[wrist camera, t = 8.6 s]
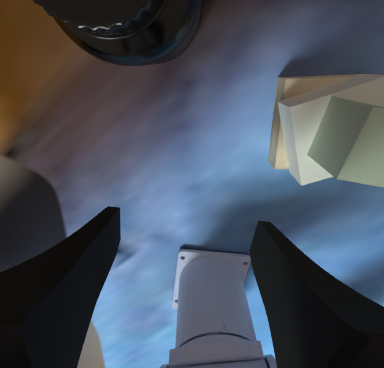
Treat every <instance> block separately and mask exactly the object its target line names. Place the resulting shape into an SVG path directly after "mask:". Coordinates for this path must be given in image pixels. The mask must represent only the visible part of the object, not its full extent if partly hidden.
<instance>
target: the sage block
mask: <svg viewBox="0 0 384 368" xmlns="http://www.w3.org/2000/svg"><path fill="white" fill-rule="evenodd" d="M307 155H308V156H309V157H310V158H312V159H313V160H314V161H315V162H316V163H318V164H319V165H320V166H321V167H323V168H324V169H325V170H326V171H327V172H329V173H330V174H331V175H332V176H334V177H335V178H336V179H339V180H344V181H350V182H355V183H361V184H366V185H372V186H377V187H383V188H384V107H381V106H376V105H371V104H367V103H362V102H357V101H353V100H348V99H343V98H338V97H334V96H332V97H331V99H330V101H329V104H328V106H327V108H326V111H325V113H324V115H323V118H322V120H321V123H320V125H319V127H318V130H317V132H316V134H315V137H314V139H313V141H312V144H311V146H310V148H309V151H308V153H307Z"/></svg>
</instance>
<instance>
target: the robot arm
mask: <svg viewBox="0 0 384 368" xmlns="http://www.w3.org/2000/svg"><path fill="white" fill-rule="evenodd" d="M120 239H121V237H120V208H118V207H107V208H105V209H104V210H103V211H101V212H100V213H99V214H98V215H97V216H95V217H94V218H93V219H92V220H90V221H89V222H88V223H87V224H85V225H84V226H83V227H81V228H80V229H79V230H77V231H76V232H75V233H73V234H72V235H70V236H69V237H67V238H66V239H65V240H63V241H62V242H60V243H58V244H57V245H55V246H53V247H52V248H50V249H48V250H47V251H45V252H43V253H41V254H39V255H37V256H35V257H33V258H31V259H29V260H27V261H25V262H23V263H21V264H19V265H17V266H15V267H12V268H10V269H8V270H5V271H3V272H0V368H77V365H78V361H79V358H80V354H81V351H82V347H83V344H84V340H85V337H86V334H87V330H88V327H89V324H90V321H91V317H92V314H93V311H94V308H95V305H96V302H97V300H98V297H99V295H100V292H101V290H102V288H103V285H104V283H105V281H106V278H107V276H108V274H109V271H110V269H111V266H112V264H113V262H114V259H115V257H116V254H117V250H118V247H119V243H120ZM182 256H184V257H182ZM244 262H246V263H244ZM250 262H251V263H252V268H253V271H254V275H255V278H256V281H257V284H258V288H259V291H260V294H261V297H262V300H263V303H264V306H265V310H266V314H267V317H268V322H269V327H270V332H271V336H272V342H273V347H274V352H275V358H276V359H275V358H274V356H273V355H265V356H264V355H263V351H262V347H261V343H260V341H257V340H256V336H255V332H254V327H253V323H252V319H251V315H250V310H249V306H248V302H247V298H246V293H245V289H244V281H245V278H246V275H247V272H248V268H249V265H250ZM172 307H173V308H174V309H177V328H176V347H175V349H171V350H170V354H169V364H166V365H162V366H160V368H384V307H383V306H381V305H379V304H377V303H375V302H374V301H372V300H370V299H368V298H366V297H365V296H363V295H361V294H360V293H358V292H356V291H355V290H353V289H352V288H350V287H348V286H347V285H345V284H344V283H342V282H341V281H339V280H338V279H336V278H335V277H333V276H332V275H331V274H329V273H328V272H326V271H325V270H324V269H322V268H321V267H320V266H318V265H317V264H316V263H315V262H313V261H312V260H311V259H310V258H309V257H307V256H306V255H305V254H304V253H303V252H302V251H301V250H299V249H298V248H297V247H296V246H295V245H294V244H293V243H292V242H291V241H290V240H289V239H288V238H287V237H285V236H284V235H283V234H282V233H281V232H280V231H279V230H278V229H277V228H276V227H275V226H274V225H273V224H272V223H270V222H265V221H258V224H257V227H256V231H255V234H254V237H253V241H252V244H251V247H250V256H249V255H246V254H235V253H224V252H213V251H202V250H190V249H181V250H179V253H178V261H177V269H176V277H175V285H174V293H173V301H172Z"/></svg>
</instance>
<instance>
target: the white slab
mask: <svg viewBox="0 0 384 368" xmlns="http://www.w3.org/2000/svg"><path fill="white" fill-rule="evenodd" d="M332 96H334V97H338V98H343V99H348V100H353V101H357V102H362V103H367V104H371V105H376V106H381V107H384V75H371V74H361V75H358V76H354V77H351V78H348V79H345V80H342V81H339V82H336V83H333V84H330V85H327V86H324V87H321V88H318V89H315V90H312V91H309V92H306V93H303V94H300V95H297V96H294V97H291V98H288V99H285V100H282V101H279V102H278V107H279V113H280V119H281V125H282V131H283V137H284V143H285V149H286V155H287V161H288V167H289V172H290V174H291V175H292V176H293V177H294V178H295V179H296V180H297V181H298V183H299V184H300V185H301V186H302V185H306V184H309V183H313V182H317V181H320V180H324V179H327V178H331V177H334V176H332V175H331V174H330V173H329V172H327V171H326V170H325V169H324V168H323V167H321V166H320V165H319V164H318V163H316V162H315V161H314V160H313V159H312V158H310V157H309V156H308V155H307V153H308V151H309V148H310V146H311V144H312V141H313V139H314V137H315V134H316V132H317V130H318V127H319V125H320V123H321V120H322V118H323V115H324V113H325V111H326V108H327V106H328V104H329V101H330V99H331V97H332Z"/></svg>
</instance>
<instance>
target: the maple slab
mask: <svg viewBox="0 0 384 368" xmlns="http://www.w3.org/2000/svg"><path fill="white" fill-rule="evenodd" d="M358 75H361V74H345V75H321V76H297V77H277V86H276V95H275V104H274V113H273V122H272V131H271V140H270V149H269V158H268V161H269V163H270V164H271V165H272V167H273V168H274V169H289V167H288V161H287V155H286V149H285V143H284V137H283V131H282V125H281V119H280V113H279V107H278V102H279V101H282V100H285V99H288V98H291V97H294V96H297V95H300V94H303V93H306V92H309V91H312V90H315V89H318V88H321V87H324V86H327V85H330V84H333V83H336V82H339V81H342V80H345V79H348V78H351V77H354V76H358ZM371 75H382V74H371Z"/></svg>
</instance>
